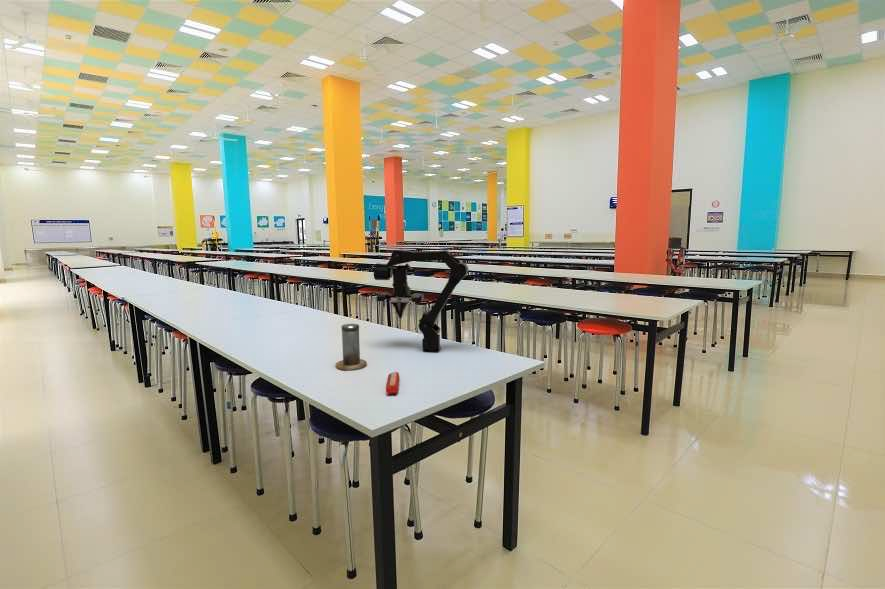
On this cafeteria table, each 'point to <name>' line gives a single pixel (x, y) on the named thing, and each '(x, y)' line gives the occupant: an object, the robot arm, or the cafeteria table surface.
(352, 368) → the coaster
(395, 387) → the red rounded bar
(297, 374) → the cafeteria table surface
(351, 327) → the tumbler
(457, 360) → the cafeteria table surface
